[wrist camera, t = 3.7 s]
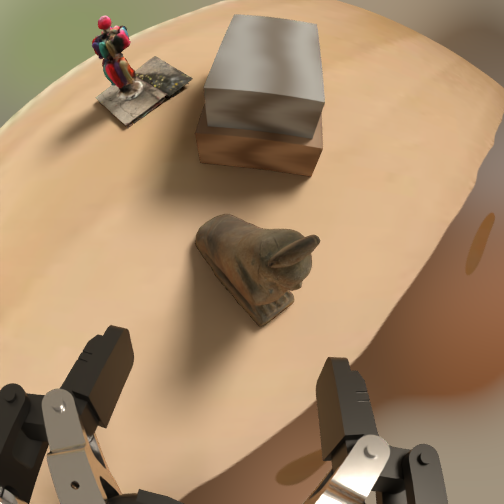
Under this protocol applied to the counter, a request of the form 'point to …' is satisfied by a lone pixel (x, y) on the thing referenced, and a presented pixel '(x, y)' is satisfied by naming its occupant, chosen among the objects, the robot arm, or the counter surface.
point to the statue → (132, 77)
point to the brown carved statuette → (256, 263)
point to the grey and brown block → (264, 97)
